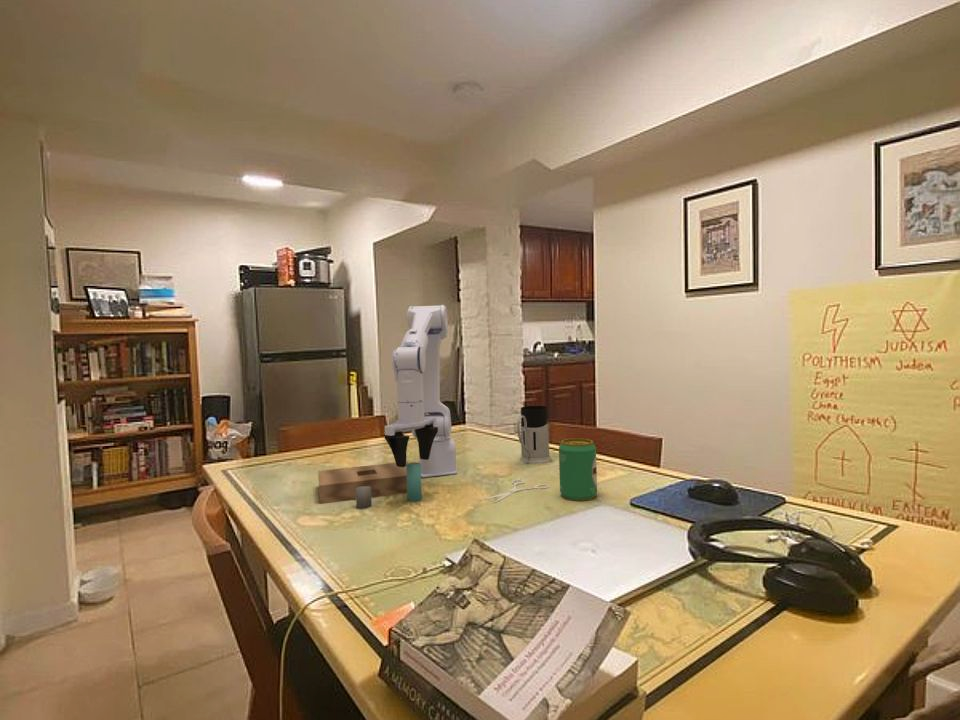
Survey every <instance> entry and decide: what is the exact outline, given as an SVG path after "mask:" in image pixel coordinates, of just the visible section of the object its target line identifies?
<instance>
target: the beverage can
mask: <svg viewBox="0 0 960 720" xmlns="http://www.w3.org/2000/svg"><path fill="white" fill-rule="evenodd" d="M558 461H559V462H558V463H559V466H558V467H559V468H558V469H559V472H558V473H559V492H560V494H561V496H562V498H564V499H566V500H568V501H576V502H583V501H585V502H586V501H590V500H593V499H595V497H596V495H597V493H598V479H597V478H598V475H597V473H598V472H597V447H596V446H595V443H594V441H593V440H592V439H589V438H576V437H575V438H565V439H562V440H561V441H560V444H559V446H558Z"/></svg>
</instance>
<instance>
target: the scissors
mask: <svg viewBox="0 0 960 720" xmlns="http://www.w3.org/2000/svg"><path fill="white" fill-rule="evenodd" d="M510 483H511V484H512V488H511V489H510V490H509V491H507V492H503V493H499V494H496V495H492V496H489V497H485V498H482V499H480V500H478V502H480V501H484V500H489V499H492V498H494V499H495V498H498V497H499V499H496V501H494V502H493V503H492V504H495V503H498V502H500V501H501V500H504V499H505V498H508V497H510V496H511V495H512V494H514V493H515V494H516V493H518V492H523V491H531V490H546V489H549V488H550V487H551V486H550V485H549V484H544V483H542V484H535V486H533V487H529V488H528V487H527V488H517V486H519V485H524V484H525V481H524V480H523V479H522V477H517V479H514V480H512V481H511V482H510ZM543 486H545V487H543Z"/></svg>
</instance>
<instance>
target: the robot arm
mask: <svg viewBox="0 0 960 720" xmlns="http://www.w3.org/2000/svg"><path fill="white" fill-rule="evenodd" d="M406 318H407V319H406V320H407V325H408V328H409V330H407V331H406V333H405V334H404V336H403V338H402V341H401V344H400V346H398V347H397V348H396V349H394V350H393V352H392V356H391V357H392V359H391V360H392V367H393V368H392V369H393V373H394V374H393V375H394V381H395V382H396V392H397V393H396V396H397V419H398V420H396V421H395V422H394V423H391V424H388V425H384V440H385V441H386V443H387V444H388V446H389V448H390V450H391V452H392V456H393V458H394V463H396V465H397V467H406V462H407V448H408V443H409V440H410V435H405V434H404V433H407V432H409V431H411V434H412V436H413V437H414V438H415V439H416V442H417V443H418V459H419V461H418V463H421V478H430V477H439V476H446V475H454V474H455V475H457V474H458V471H457V453H456V443H455V440H454V439H453V438H452V437H450V436H451V435H452V434H451V433H452V417H451V411H450V408H449V407H448V406H446V405H445V404H444V403H443V402H442V401H441V397H440V395H441V394H440V393H441V388H440V387H441V386H440V383H441V382H440V381H441V375H440V370H441V369H440V368H441V366H440V364H441V362H440V361H441V359H440V356H441V354H440V349H441V343H442V340H444V339H446V338H447V336H448V331H449V329H448V327H449V326H448V325H449V323H448V321H449V318H448V309H447V306H446V305H445V304H441V305H422V306H421V305H420V306H419V305H418V306H415V305H414V306H413V305H410V306H409V308H408V309H407V314H406Z"/></svg>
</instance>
